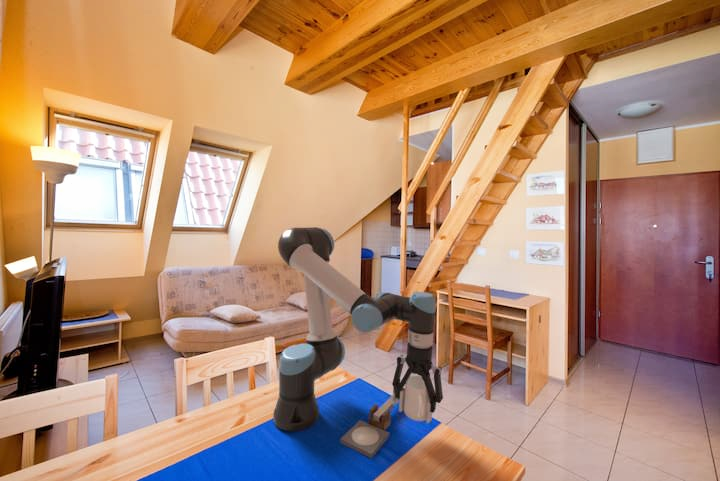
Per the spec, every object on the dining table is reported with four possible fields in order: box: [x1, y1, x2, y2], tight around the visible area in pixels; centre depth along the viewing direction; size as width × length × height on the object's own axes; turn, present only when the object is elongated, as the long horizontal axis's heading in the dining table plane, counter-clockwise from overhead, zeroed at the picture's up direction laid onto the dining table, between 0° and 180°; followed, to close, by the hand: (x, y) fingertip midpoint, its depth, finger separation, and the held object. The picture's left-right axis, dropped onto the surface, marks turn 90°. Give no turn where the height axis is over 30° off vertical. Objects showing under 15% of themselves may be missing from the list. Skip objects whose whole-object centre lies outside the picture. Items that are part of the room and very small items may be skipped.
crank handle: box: [373, 379, 401, 422], centre depth 108 cm, size 2×16×8 cm, turn 147°
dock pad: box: [339, 419, 390, 459], centre depth 96 cm, size 11×11×1 cm
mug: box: [403, 374, 434, 422], centre depth 96 cm, size 12×8×10 cm
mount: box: [368, 403, 391, 431], centre depth 104 cm, size 6×4×5 cm, turn 57°
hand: (415, 415), depth 97 cm, fingers closed on mug, 8 cm apart
